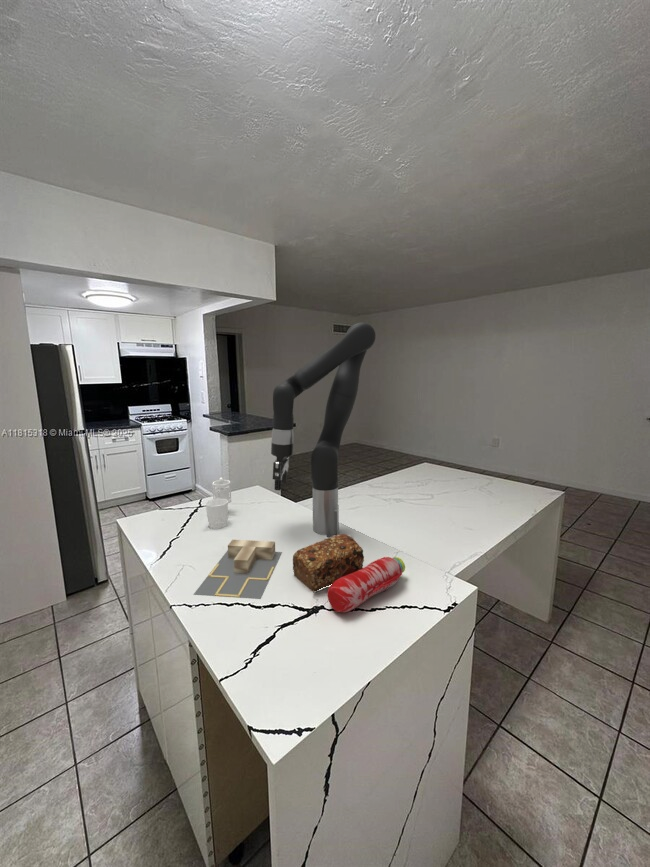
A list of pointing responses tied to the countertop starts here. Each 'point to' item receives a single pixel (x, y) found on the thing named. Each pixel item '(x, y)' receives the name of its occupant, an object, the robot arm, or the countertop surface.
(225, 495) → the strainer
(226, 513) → the white cup
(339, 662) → the countertop surface
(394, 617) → the countertop surface
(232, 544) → the t block
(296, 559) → the bread
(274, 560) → the board
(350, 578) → the water bottle
